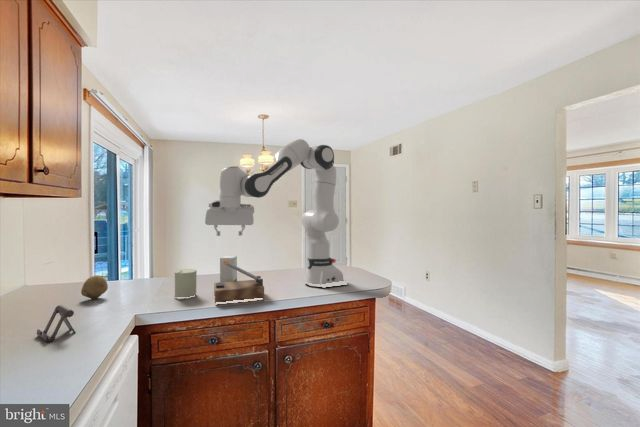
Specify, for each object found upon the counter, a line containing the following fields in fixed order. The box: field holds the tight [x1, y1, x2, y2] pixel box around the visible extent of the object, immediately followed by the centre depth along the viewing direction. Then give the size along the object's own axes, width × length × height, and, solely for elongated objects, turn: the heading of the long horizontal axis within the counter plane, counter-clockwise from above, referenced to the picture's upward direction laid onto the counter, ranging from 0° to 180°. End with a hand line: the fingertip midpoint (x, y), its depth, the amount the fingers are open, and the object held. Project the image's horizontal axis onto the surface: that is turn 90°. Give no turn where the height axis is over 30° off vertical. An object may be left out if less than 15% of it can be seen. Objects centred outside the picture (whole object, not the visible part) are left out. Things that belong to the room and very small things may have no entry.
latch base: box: [213, 275, 265, 304], centre depth 137 cm, size 20×14×8 cm
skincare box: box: [219, 255, 238, 282], centre depth 154 cm, size 8×7×16 cm
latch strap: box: [222, 259, 262, 281], centre depth 137 cm, size 19×4×2 cm
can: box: [174, 268, 198, 297], centre depth 139 cm, size 9×9×12 cm
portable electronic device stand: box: [36, 304, 76, 344], centre depth 97 cm, size 9×8×8 cm
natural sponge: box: [80, 275, 109, 300], centre depth 134 cm, size 9×9×10 cm
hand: (229, 235), depth 135 cm, fingers open, 8 cm apart
